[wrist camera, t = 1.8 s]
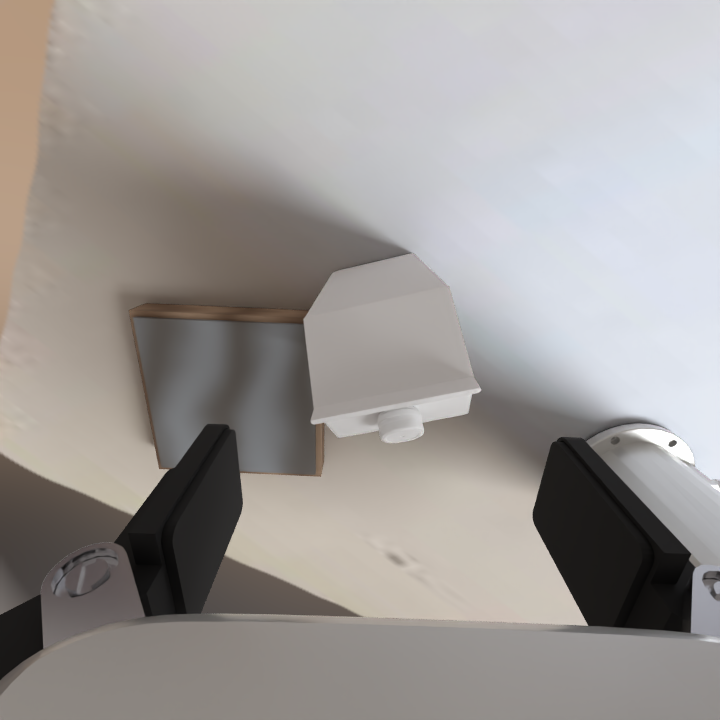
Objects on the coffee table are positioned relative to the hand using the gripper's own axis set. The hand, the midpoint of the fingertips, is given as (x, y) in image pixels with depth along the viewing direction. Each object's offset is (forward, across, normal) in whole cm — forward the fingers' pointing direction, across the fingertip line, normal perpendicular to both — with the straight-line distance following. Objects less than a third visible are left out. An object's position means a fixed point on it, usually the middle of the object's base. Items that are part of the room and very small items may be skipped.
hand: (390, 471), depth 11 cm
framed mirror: (+24, +12, +10) cm, 28 cm away
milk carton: (+24, -1, 0) cm, 24 cm away
